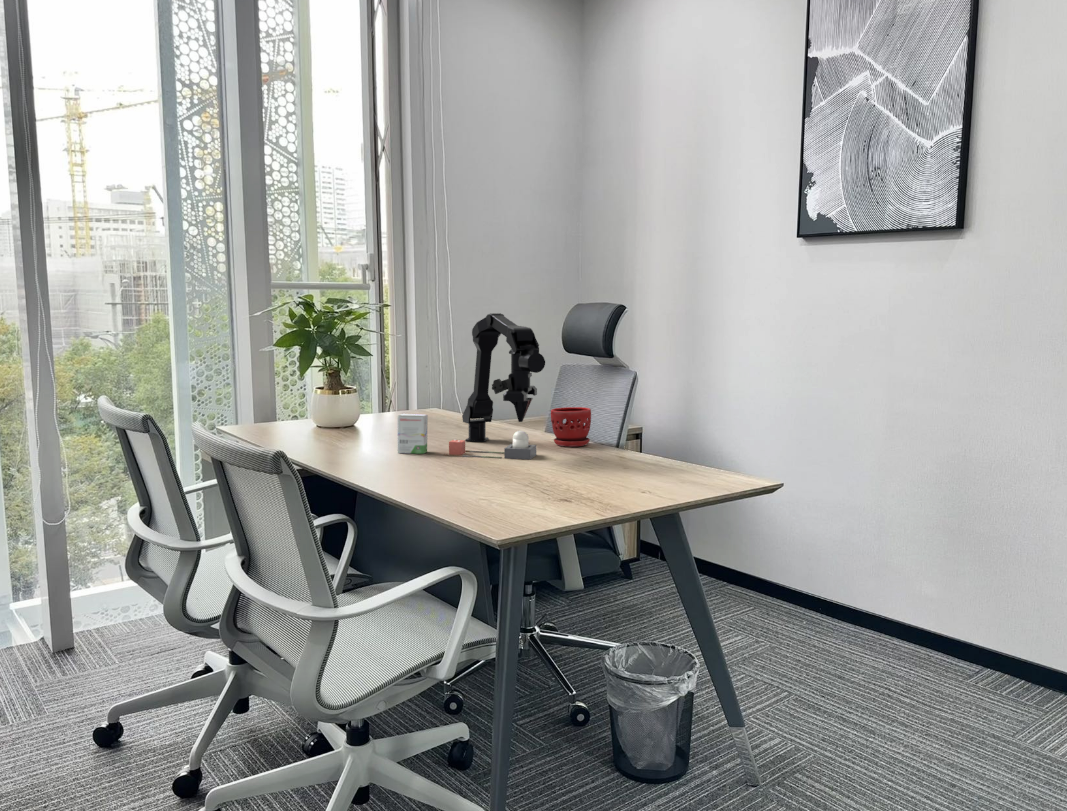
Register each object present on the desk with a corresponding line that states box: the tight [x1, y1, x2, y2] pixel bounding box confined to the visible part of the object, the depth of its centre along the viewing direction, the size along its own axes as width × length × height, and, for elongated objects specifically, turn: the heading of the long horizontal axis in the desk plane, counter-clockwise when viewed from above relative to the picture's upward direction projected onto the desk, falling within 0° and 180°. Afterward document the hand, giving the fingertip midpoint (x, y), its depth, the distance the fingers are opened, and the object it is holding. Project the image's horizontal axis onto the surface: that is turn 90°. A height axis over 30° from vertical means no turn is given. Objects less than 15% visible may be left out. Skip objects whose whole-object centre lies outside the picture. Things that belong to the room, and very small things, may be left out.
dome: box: [512, 430, 530, 449], centre depth 260 cm, size 5×5×6 cm
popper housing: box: [503, 443, 537, 460], centre depth 260 cm, size 8×8×3 cm
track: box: [443, 449, 504, 459], centre depth 263 cm, size 9×18×1 cm, turn 77°
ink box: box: [397, 413, 429, 455], centre depth 266 cm, size 9×5×12 cm, turn 84°
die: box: [448, 438, 466, 455], centre depth 264 cm, size 4×4×4 cm
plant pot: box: [550, 406, 592, 448], centre depth 281 cm, size 13×13×12 cm
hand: (520, 421), depth 259 cm, fingers closed
